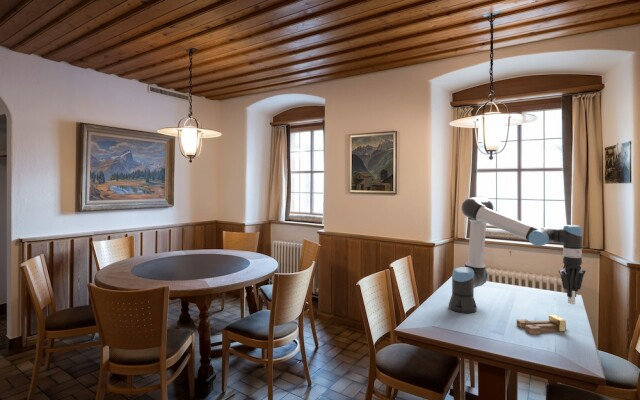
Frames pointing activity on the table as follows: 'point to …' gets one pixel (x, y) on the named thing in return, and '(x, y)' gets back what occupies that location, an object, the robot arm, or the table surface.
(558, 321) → the lock collar
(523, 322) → the tongs moving arm
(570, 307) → the table surface
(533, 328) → the tongs fixed arm
